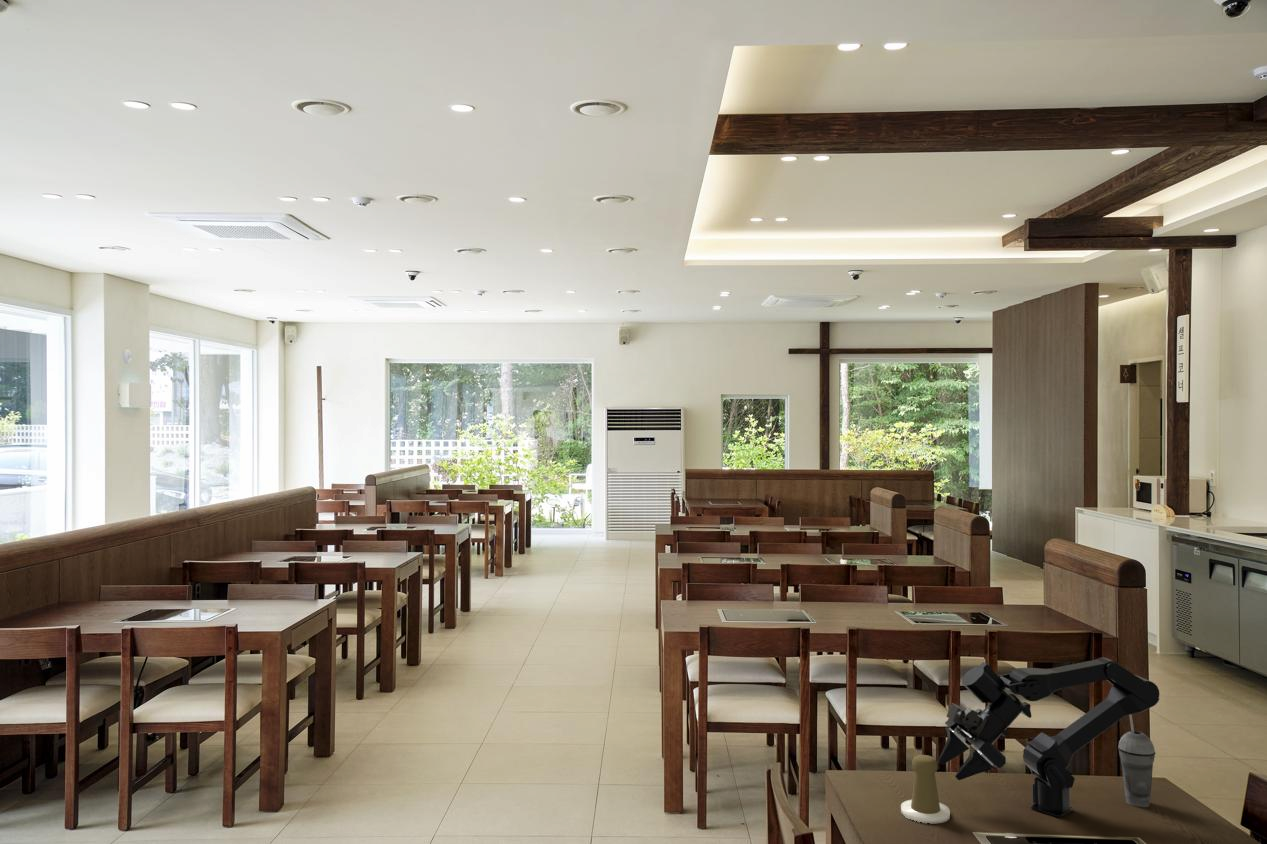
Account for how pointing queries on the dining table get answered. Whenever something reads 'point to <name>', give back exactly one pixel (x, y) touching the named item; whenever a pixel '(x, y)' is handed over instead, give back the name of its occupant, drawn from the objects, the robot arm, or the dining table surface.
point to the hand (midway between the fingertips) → (948, 770)
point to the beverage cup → (1137, 766)
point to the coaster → (925, 818)
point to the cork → (925, 785)
